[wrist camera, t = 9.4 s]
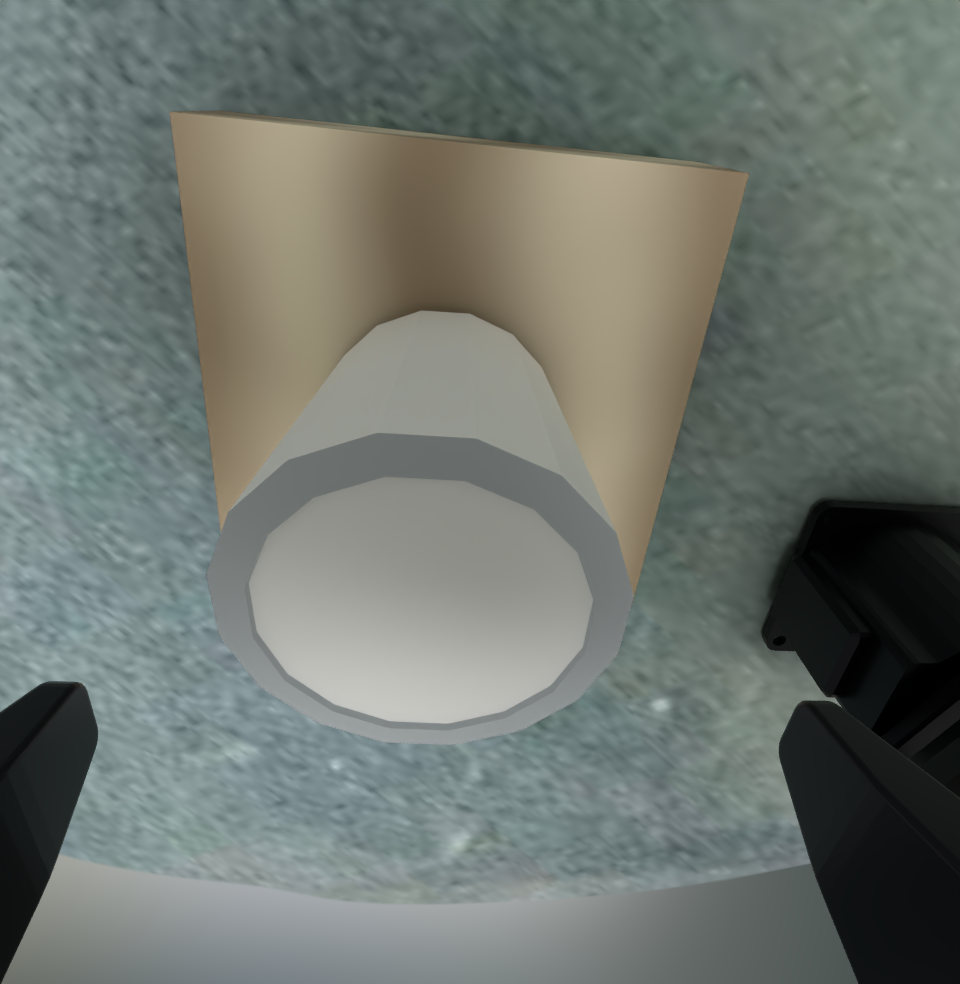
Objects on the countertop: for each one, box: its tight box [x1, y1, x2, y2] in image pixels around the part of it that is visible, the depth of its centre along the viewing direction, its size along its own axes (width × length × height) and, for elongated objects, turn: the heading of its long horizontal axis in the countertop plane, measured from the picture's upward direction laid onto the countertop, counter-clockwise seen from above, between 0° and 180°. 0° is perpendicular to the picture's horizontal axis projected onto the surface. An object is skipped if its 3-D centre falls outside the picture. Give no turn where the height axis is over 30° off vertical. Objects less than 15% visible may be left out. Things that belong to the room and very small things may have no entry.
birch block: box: [170, 111, 749, 606], centre depth 18 cm, size 12×12×4 cm
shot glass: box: [206, 310, 634, 745], centre depth 14 cm, size 7×7×7 cm
